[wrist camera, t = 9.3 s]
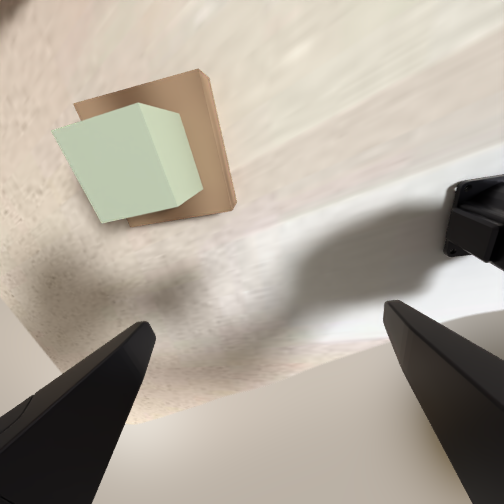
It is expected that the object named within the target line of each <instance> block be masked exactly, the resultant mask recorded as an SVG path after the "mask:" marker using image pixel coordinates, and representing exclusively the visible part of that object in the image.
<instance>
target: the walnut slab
mask: <svg viewBox="0 0 504 504" xmlns="http://www.w3.org/2000/svg"><path fill="white" fill-rule="evenodd" d="M135 103H142V104H146V105H149V106H153V107H157V108H160V109H164V110H168V111H172V112H175V113H179V114H180V117H181V120H182V124H183V127H184V130H185V133H186V136H187V139H188V142H189V145H190V149H191V152H192V155H193V158H194V161H195V164H196V167H197V171H198V174H199V177H200V180H201V183H202V186H203V190H201V191H200V192H198V193H197V194H195V195H194V196H193V197H191V198H190V199H188V200H187V201H185V202H184V203H183V204H181V205H180V206H178V207H174V208H170V209H165V210H161V211H156V212H152V213H147V214H143V215H138V216H134V217H129V218H126V219H127V221H128V223H129V225H130V227H135V226H141V225H147V224H154V223H160V222H166V221H172V220H178V219H184V218H191V217H197V216H203V215H209V214H215V213H221V212H228V211H232V210H233V208H234V207H235V205H236V203H237V200H236V196H235V191H234V187H233V182H232V178H231V173H230V169H229V164H228V160H227V155H226V151H225V146H224V142H223V137H222V133H221V128H220V124H219V120H218V115H217V111H216V106H215V102H214V97H213V93H212V88H211V84H210V79H209V77H208V76H206V75H205V74H204V73H203V72H202V71H201V70H199V69H195V70H192V71H188V72H185V73H181V74H177V75H174V76H170V77H167V78H163V79H160V80H156V81H152V82H149V83H145V84H142V85H138V86H135V87H131V88H127V89H124V90H120V91H117V92H113V93H110V94H106V95H102V96H99V97H95V98H92V99H88V100H85V101H81V102H77V103H74V106H75V109H76V111H77V113H78V115H79V117H80V119H81V121H83V120H86V119H89V118H92V117H95V116H98V115H101V114H104V113H108V112H111V111H114V110H117V109H120V108H123V107H126V106H129V105H132V104H135Z"/></svg>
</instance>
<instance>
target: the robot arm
mask: <svg viewBox="0 0 504 504" xmlns="http://www.w3.org/2000/svg"><path fill="white" fill-rule="evenodd" d="M467 185H468V187H467V189H465V190H464V188H465V186H467ZM451 250H453V251H452V252H450V251H451ZM444 253H445V254H446V255H447V256H449V257H455V256H464V255H473V256H475V257H477V258H478V259H480V260H481V261H483V262H485V263H491V264H492V265H494V266H496V267H497V268H499V269H501V270H502V271H504V174H502V175H496V176H490V177H483V178H477V179H471V180H465V181H462V182H461V183H460V184H459V185H458V186H457V190H456V194H455V199H454V204H453V208H452V211H451V214H450V219H449V224H448V228H447V233H446V241H445V246H444ZM383 323H384V326H385V329H386V331H387V334H388V336H389V339H390V341H391V343H392V346H393V349H394V351H395V354H396V356H397V359H398V361H399V364H400V366H401V368H402V371H403V373H404V374H405V377H406V379H407V380H408V382H409V384H410V386H411V388H412V390H413V392H414V394H415V395H416V398H417V399H418V401H419V403H420V405H421V407H422V409H423V411H424V413H425V415H426V416H427V418H428V420H429V422H430V424H431V426H432V428H433V430H434V432H435V433H436V435H437V437H438V439H439V441H440V443H441V445H442V447H443V449H444V451H445V452H446V454H447V456H448V458H449V460H450V462H451V463H452V466H453V468H454V469H455V471H456V473H457V475H458V477H459V479H460V481H461V483H462V485H463V486H464V488H465V490H466V492H467V494H468V496H469V498H470V500H471V502H472V503H473V504H504V360H502V359H500V358H498V357H497V356H495V355H493V354H492V353H489V352H488V351H486V350H485V349H483V348H481V347H479V346H477V345H476V344H474V343H472V342H471V341H469V340H467V339H466V338H464V337H462V336H460V335H459V334H457V333H455V332H454V331H452V330H450V329H448V328H447V327H445V326H443V325H441V324H440V323H438V322H436V321H435V320H433V319H431V318H429V317H428V316H426V315H424V314H422V313H421V312H419V311H417V310H415V309H414V308H412V307H410V306H409V305H407V304H405V303H403V302H402V301H400V300H391V301H386V302H385V304H384V314H383ZM155 341H156V336H155V333H154V332H153V330H152V328H151V326H150V324H149V323H148V322H147V321H141V322H136V323H135V324H133V325H132V326H130V327H129V328H127V329H126V330H125V331H123V332H122V333H120V334H119V335H117V336H116V337H115V338H113V339H112V340H110V341H109V342H107V343H106V344H105V345H103V346H102V347H100V348H99V349H97V350H96V351H95V352H93V353H92V354H90V355H89V356H87V357H86V358H85V359H83V360H82V361H80V362H79V363H77V364H76V365H75V366H73V367H72V368H70V369H69V370H67V371H66V372H65V373H63V374H62V375H61V376H59V377H58V378H56V379H55V380H53V381H52V382H51V383H49V384H48V385H46V386H45V387H43V388H42V389H40V390H39V391H38V392H36V393H35V395H32V396H30V397H29V398H28V399H26V400H25V401H23V402H22V403H21V404H19V405H17V406H16V407H15V408H13V409H12V410H10V411H9V412H7V413H6V414H4V415H3V416H1V417H0V504H92V502H93V499H94V497H95V495H96V492H97V490H98V487H99V485H100V483H101V480H102V478H103V475H104V473H105V471H106V468H107V466H108V463H109V461H110V459H111V456H112V454H113V451H114V449H115V447H116V444H117V442H118V439H119V437H120V434H121V432H122V430H123V427H124V425H125V422H126V420H127V418H128V415H129V413H130V410H131V408H132V406H133V403H134V401H135V398H136V396H137V394H138V391H139V389H140V386H141V384H142V381H143V379H144V376H145V373H146V370H147V367H148V363H149V360H150V357H151V354H152V351H153V347H154V344H155Z"/></svg>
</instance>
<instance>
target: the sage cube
mask: <svg viewBox="0 0 504 504" xmlns="http://www.w3.org/2000/svg"><path fill="white" fill-rule="evenodd" d="M51 132H52V134H53V135H54V137H55V139H56V141H57V143H58V145H59V146H60V148H61V150H62V152H63V154H64V156H65V157H66V159H67V161H68V163H69V165H70V167H71V168H72V170H73V172H74V174H75V176H76V177H77V179H78V181H79V183H80V185H81V187H82V188H83V190H84V192H85V194H86V196H87V198H88V199H89V201H90V203H91V205H92V207H93V209H94V210H95V212H96V214H97V216H98V218H99V220H100V221H101V223H106V222H111V221H116V220H120V219H125V218H129V217H134V216H138V215H143V214H147V213H152V212H156V211H161V210H165V209H170V208H174V207H178V206H180V205H181V204H183V203H184V202H185V201H187V200H188V199H190V198H191V197H193V196H194V195H195V194H197V193H198V192H200V191H201V190H203V186H202V183H201V180H200V177H199V174H198V171H197V167H196V164H195V161H194V158H193V155H192V152H191V149H190V145H189V142H188V139H187V136H186V133H185V130H184V127H183V124H182V120H181V117H180V114H179V113H175V112H172V111H168V110H164V109H160V108H157V107H153V106H149V105H146V104H142V103H135V104H132V105H129V106H126V107H123V108H120V109H117V110H114V111H111V112H108V113H104V114H101V115H98V116H95V117H92V118H89V119H86V120H83V121H80V122H77V123H74V124H71V125H68V126H65V127H61V128H58V129H55V130H52V131H51Z"/></svg>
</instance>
